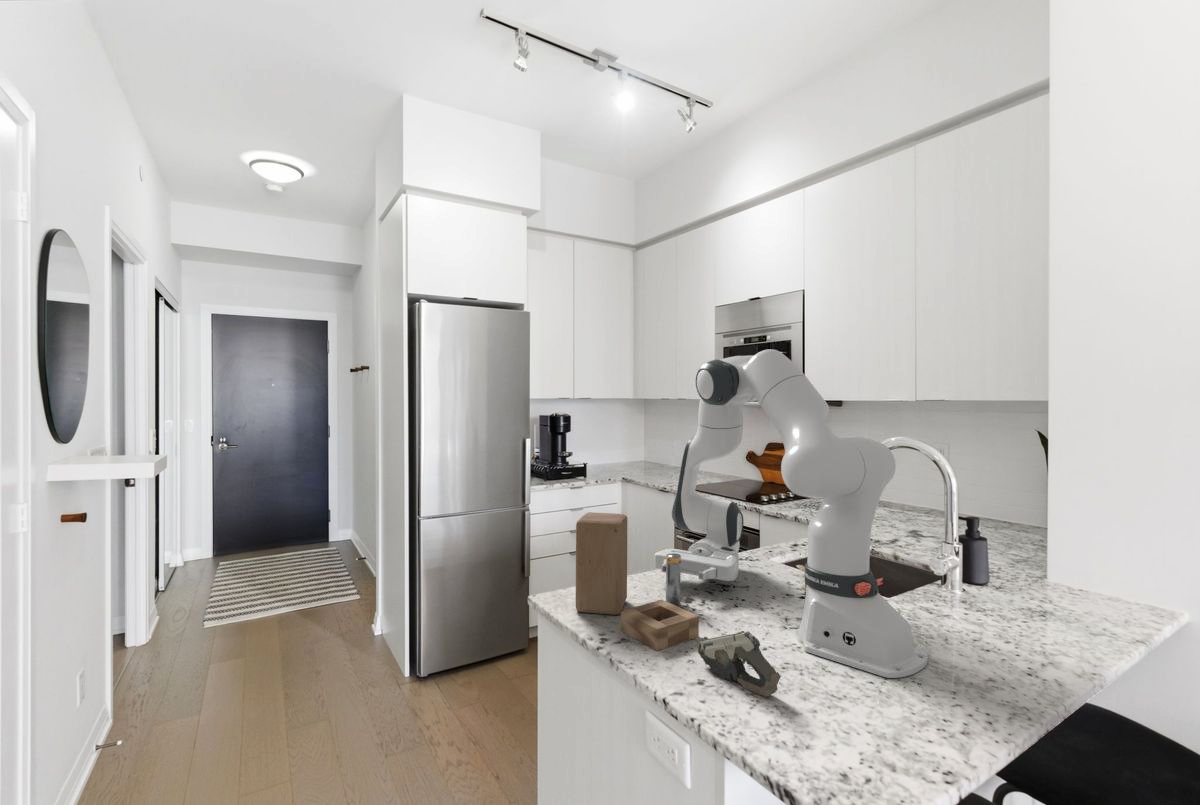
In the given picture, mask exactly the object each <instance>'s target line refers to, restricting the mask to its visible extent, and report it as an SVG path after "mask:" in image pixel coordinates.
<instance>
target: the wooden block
mask: <svg viewBox="0 0 1200 805" xmlns="http://www.w3.org/2000/svg"><path fill="white" fill-rule="evenodd" d="M627 597H628V516H627V515H626V514H624V513H613V512H612V513H611V512H610V513H609V512H590V511H589V512H586V513H585V514H583V515H582V516H581V517H580V518H579V519H578V520H577V521H576V524H575V609H576V611H577V612H579V613H588V614H589V613H590V614H600V615H610V616H611V615H613V616H618V615H621V611H622V610H623V607H624V605H625V603H626V600H627V599H628V598H627Z"/></svg>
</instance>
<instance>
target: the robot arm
mask: <svg viewBox="0 0 1200 805" xmlns="http://www.w3.org/2000/svg"><path fill="white" fill-rule="evenodd" d="M695 387H696V391H697V393H698V396H699V402H698V403H699V404H698V416H697V417H698V418H697V419H698V420H697V422H698V423H697V431H696V433H695V435H694V437H692V438H690V439H688V441H687V442H686V444H685V446H684V447H685V448H684V450H683V451H684V452H683V456H682V459H681V460H682V461H681V466H680V471H679V477H678V482H677V488H676V494H675V497H674V500H673V505H672V509H671V519H672V521H673V522H674V524H675V525H676V526H677V528H678V529H679V530H680V531H686V532H693V533H694V532H695V533H700V534H704V535H706V536H705V537H704V538H701V539H699V540H698V541H696V542H694V543H693V544H691V545H690V546H689V548H687V549H688V550H685V549H678V548H677V549H676V548H665V549H663V550H660V551H657V552H655V553H654V556H653V562H654V563H653V564H654V566H655V568H656V569H659V570H661V573H664V574H666V555H667V554H671V553H674V554H679V555H681V573H682V574H687V575H691V576H692V575H693V576H698V579H699V580H702V581H706V580H707V579H714V580H719V581H725V582H734V581H735V580H736V579H737V578H738V575H739V568H740V567H739V566H740V561H739V560H740V559H739V551H740V540H741V538H742V535H743V530H744V516H743V515H744V514H743V513H742V511H741V509H740V507H739V506H738V504H736V502H734V501H730V500H726V499H721V498H715V497H714V498H713V497H708V496H704V495H699V494H698V493H697V492H696V487H697V481H698V477H699V470H700V467H701V464H703V463H705V462H709V461H713V460H714V461H715V460H717V459H718V460H719V459H721V458H724V457H727V456H729V455H731V454H733V453H734V452H735V451H736V450H737V449H738V448H739V446H740V444H741V443H742V440H743V439H742V438H743V432H744V431H743V429H744V428H743V427H744V424H743V422H744V418H743V417H744V414H743V413H744V412H743V410H744V405H745V404H746V403H747V404H748V403H752V402H756V401H757V402H758V403H759V405H760V407H761V408H762V410H763V411H764V412H765V414H766V415H767V417H768V418H769V420H770V421H771V423H772V424H773V426H774V428H775V429H776V430H777V433H778V434H779V436H780V438H781V441H782V444H783V446H784V454H783V456H782V460H781V464H780V470H781V471H780V472H781V477H782V480H783V482H784V485H785V486H786V488H788V489H789V491H790V492H792V493H793V494H795V496H799V497H804V498H809V499H817V500H822V502H821V505H820V507H819V508H818V511H817V512H816V513H815V515H814V516H813V517H812V518H811V520H810V521H809V524H808V526H807V562H806V563H805V564H804V566H805V572H804V585H805V586H806V590H805V596H804V597H805V599H804V606H803V611H802V615H801V616H802V618H801V621H800V624H799V627H798V630H797V637H798V638H799V640H800V641H801V642H802V643H803V650H804V651H805V652H806V653H810V654H812V655H815V656H819V657H822V658H825V659H827V660H830V661H834V662H838V663H840V664H844V665H846V666H849V667H852V668H856V669H858V670H862V671H866V672H868V673H871V674H874V675H877V676H880V677H884V678H887V679H888V678H889V679H897V678H904V677H908V676H911V675H913V674H916V673H918V672H919V671H921V670H923V669H924V668H925V667H926V666H927V664H928V662H929V659H928V653H927V651H925V650H922V649H921V648H920V647H919V648H918V647H916V646H915V643H914V642H915V641H914V637H913V636H914V635H913V632H912V631H913V630H912V628H911V627H912V626H911V624H910V623H909V622H908V620H907V619H906V618H904V616H902V615H901V613H899V612H898V610H896V609H895V608H894V607H893V606H892V605H891V604H890V603H889V601H887V600H886V598H884V596H882V595H881V594H880V593H879V588H878V587H879V586H880V585H883V584H884V583H883V580H884V577H880V578H875V576H874V575H873V573H872V570H871V569H870V559H871V558H870V553H871V535H872V528H873V523H874V518H875V514H876V512H877V508H878V506H879V503H880V502H879V501H880V499H881V496H882V494H883V492H884V490H885V488H886V487H887V485H888V484H889V483H890V482H891V480H893V478H894V476H895V474H896V466H897V465H896V460H895V456H894V454H893V452H892V451H891V449H890V448H889V447H888V446H887V445H886V444H884V443H883V442H880V441H877V440H874V439H870V438H865V437H859V436H858V437H842V438H840V437H838V436H836V434H834V432H833V431H832V430H831V427H830V426H829V423H828V418H829V415H830V406H829V405H828V403H827V402H826V400H825V399H824V397H823V396H822V394H821V393H820V392H819V391H818V390H817V389H816V387H815V386H814V385H813V384H812V383H811V380H809V378H808V377H807V375H805V374H804V372H803V371H802V370H801V369H800V368H799V367H798V365H796V364H795V362H793V361H792V360H791V359H790V358H789V357H788V356H786V355H785V354H783V353H782V352H781V351H779V350H778V349H771V348H770V349H768V348H767V349H764V350H761V351H759V352H757V353H756V354H754V355H735V356H729V357H725V358H721V359H720V358H719V359H712V360H710V361H707V362H704V363H703V364H702V365H700V366H699V368H698V370H697V372H696V376H695Z"/></svg>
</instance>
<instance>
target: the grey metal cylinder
mask: <svg viewBox="0 0 1200 805" xmlns="http://www.w3.org/2000/svg"><path fill="white" fill-rule="evenodd" d="M665 601H666V602H668V603H671V604H673V605H675V606H677V607H680V606H681V555H679V554H674V553H671V554H667V555H666V573H665ZM679 605H680V606H679Z"/></svg>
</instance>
